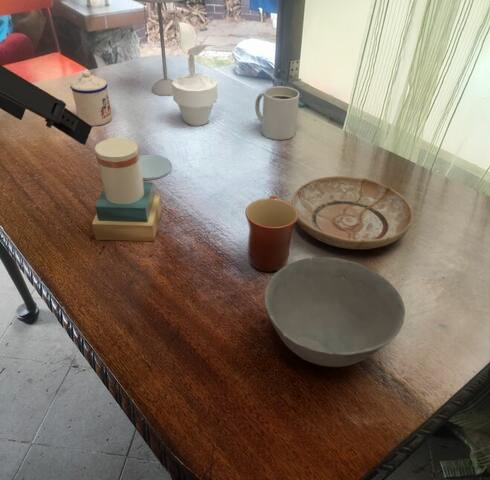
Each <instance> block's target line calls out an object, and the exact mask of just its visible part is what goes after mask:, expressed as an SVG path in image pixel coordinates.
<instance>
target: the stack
mask: <svg viewBox="0 0 490 480" xmlns="http://www.w3.org/2000/svg"><path fill="white" fill-rule="evenodd" d="M143 184H144V191H145V194H144V196H143V198H142V199H140V200H139V201H137V202H134V203H131V204H114V203H111V202H109V201H108V200H107V199H106V197H105V193H104V189H103V188H102V190H101V192H100V194H99V197H98V199H97V201H96V204H95V206H94V208H95V212H96V213H95V215H94V218H93V220H92V223H91V227H92V230H93V234H94V238H95V240H97V241H127V242H128V241H129V242H130V241H131V242H155V241H156V237H157V232H158V229H159V225H160V220H161V215H162V213H163V205H162V196H161V193H155V189H154V182H146V181H145V182H144V181H143Z"/></svg>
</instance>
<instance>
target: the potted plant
mask: <svg viewBox="0 0 490 480" xmlns="http://www.w3.org/2000/svg"><path fill="white" fill-rule="evenodd" d="M174 15H175V20H174V19H173V21H172V24H173V25H174V28H175V31H178V29H179V39H178V38H176V40H175V43H176V44H177V45H180V49H181V51H182V52H183V53H184V54H185V55H188V59H187V62H188V71H189V74H188V75H181V76H179V77H176V78H174V79H172V80H173V83H172V90H173V95H172V101H174V102H175V103H176V104H177V106H178V109H179V111H180V114H181V116H182V118H183V121H184V122H185V123H186V124H187V125H190V126H194V127H195V126H196V127H199V126H203V125H205V124H208V123H209V120H210V117H211V113H212V109H213V106H214V104H216V103H217V101H218V81H217V80H216V79H215V78H214V77H211V76H207V75H203V74H201V73H196V66H195V56H199V55H200V54H201V53H202V52H203V51H204V50H205V49H206V48H207V47H214V46H215V44H214V43H206V44H198V45H196V43H197V33H196V29H195V28H194V27H193V26H192V25H190V24H189V23H188V22H181V21H178V19H177V14H176V13H174ZM167 34H168V35H167V36H166V38H168V40H169V42H170V41H171V38H172V36H171V35H170V33H167Z"/></svg>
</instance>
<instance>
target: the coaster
mask: <svg viewBox="0 0 490 480" xmlns="http://www.w3.org/2000/svg"><path fill="white" fill-rule="evenodd" d="M139 155H140V164H141V171H142V177H143V181H152V180H153V181H154V180H158V179H161V178H164V177H166V176H167V175H169V174H170V173H171V172H172V171H173V170H172V169H173V164H172V162H171V160H170V159H169V158H167V157H165V156H163V155H159V154H139Z"/></svg>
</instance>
